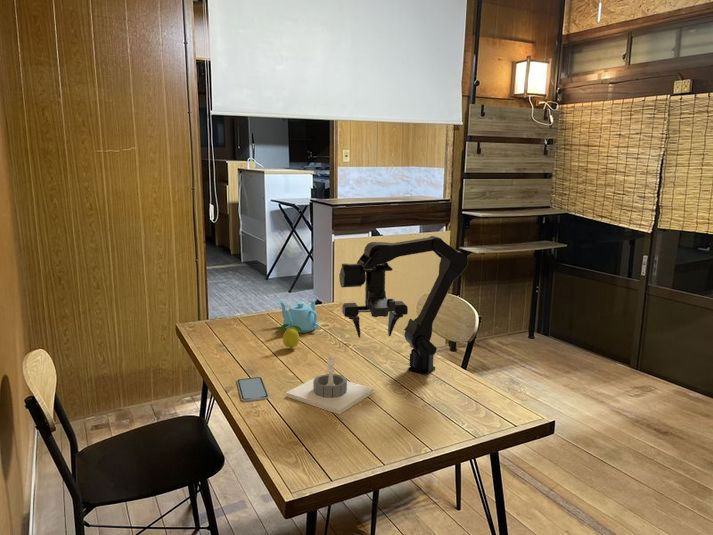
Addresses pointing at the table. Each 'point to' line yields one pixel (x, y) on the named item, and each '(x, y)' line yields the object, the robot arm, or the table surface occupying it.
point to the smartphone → (252, 389)
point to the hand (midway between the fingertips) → (374, 336)
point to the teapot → (300, 316)
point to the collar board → (330, 402)
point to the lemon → (291, 335)
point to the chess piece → (330, 371)
